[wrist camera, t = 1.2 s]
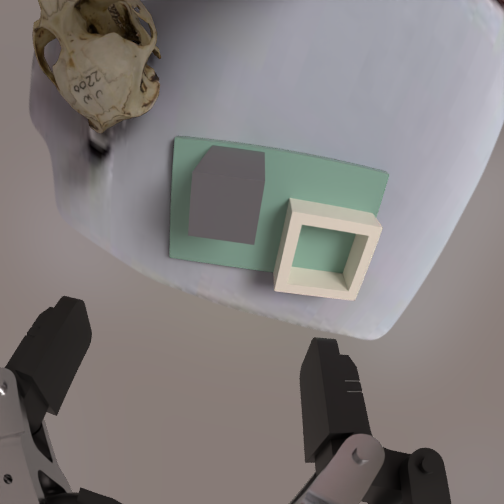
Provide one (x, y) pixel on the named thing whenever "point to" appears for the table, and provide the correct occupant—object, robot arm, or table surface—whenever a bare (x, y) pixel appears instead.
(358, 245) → the frame
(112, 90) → the skull
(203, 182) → the plug
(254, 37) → the table surface
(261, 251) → the board
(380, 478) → the robot arm
